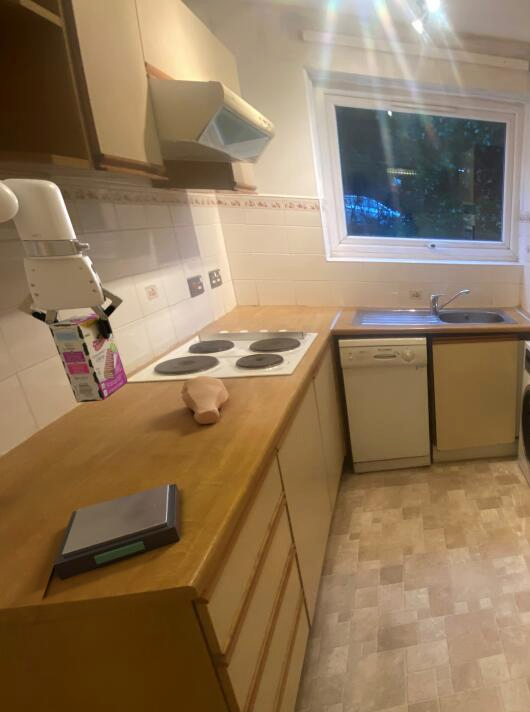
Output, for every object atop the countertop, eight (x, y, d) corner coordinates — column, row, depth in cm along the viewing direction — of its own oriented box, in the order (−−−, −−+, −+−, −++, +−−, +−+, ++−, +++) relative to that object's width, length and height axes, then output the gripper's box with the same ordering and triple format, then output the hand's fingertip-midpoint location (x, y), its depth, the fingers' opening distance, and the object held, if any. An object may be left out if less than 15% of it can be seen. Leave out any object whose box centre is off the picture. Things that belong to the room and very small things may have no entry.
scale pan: (63, 558, 67) (61, 554, 67) (79, 512, 77) (77, 508, 77) (167, 525, 74) (166, 521, 74) (169, 487, 84) (168, 484, 83)
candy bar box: (106, 400, 90) (78, 323, 84) (76, 403, 89) (45, 325, 83) (130, 382, 100) (106, 312, 94) (103, 384, 99) (78, 313, 92)
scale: (60, 582, 67) (52, 567, 65) (78, 525, 78) (72, 511, 77) (179, 542, 74) (174, 528, 73) (180, 495, 86) (176, 483, 85)
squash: (226, 395, 131) (225, 368, 128) (234, 429, 118) (234, 399, 114) (181, 398, 125) (179, 370, 121) (185, 434, 111) (182, 403, 108)
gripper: (114, 247, 91) (140, 330, 98) (-6, 249, 81) (32, 342, 88) (110, 249, 85) (138, 338, 92) (-20, 253, 76) (22, 351, 83)
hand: (86, 339), depth 90 cm, fingers closed on candy bar box, 6 cm apart
